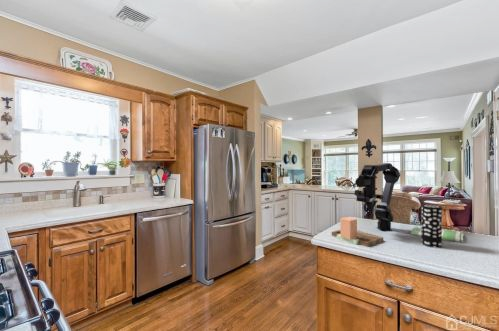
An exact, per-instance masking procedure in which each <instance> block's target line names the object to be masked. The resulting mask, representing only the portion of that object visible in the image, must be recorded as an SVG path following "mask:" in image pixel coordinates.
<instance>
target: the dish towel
mask: <svg viewBox="0 0 499 331" xmlns="http://www.w3.org/2000/svg"><path fill="white" fill-rule="evenodd" d="M409 233H410V235H411V236H416V237H421V227H419V226H418V225H414V226H413V229H411V231H410V232H409ZM442 241H448V242H456V243H464V241H465V240H464V232H462V231H458V230H448V229H442Z"/></svg>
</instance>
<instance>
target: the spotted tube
mask: <svg viewBox="0 0 499 331" xmlns="http://www.w3.org/2000/svg"><path fill="white" fill-rule="evenodd" d="M420 228H421V236H420V237H421V240H420V242H421V245H423V246H426V247H430V248H437V249H438V248H441V247H442V243H443V242H442V241H443V240H442V230H443V208H442V206H440V205H435V204H422V205H421V227H420Z"/></svg>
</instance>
